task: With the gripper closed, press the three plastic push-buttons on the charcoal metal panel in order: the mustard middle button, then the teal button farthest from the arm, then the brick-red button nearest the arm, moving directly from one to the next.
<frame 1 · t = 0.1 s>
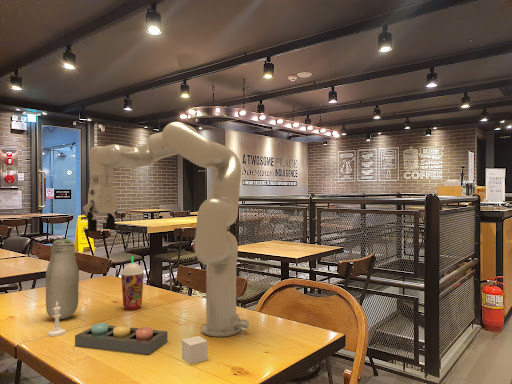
hand: (101, 230, 133), 31 cm above the table, tool pointing down, fingers open, 9 cm apart
teal button: (99, 330, 112), point 3 cm above the table, slide at 0.0 cm
button panel: (121, 343, 110), on the table
brick button: (144, 334, 108), point 3 cm above the table, slide at 0.0 cm
white cube: (194, 360, 99), on the table
grey bottle: (62, 318, 134), on the table
chess piece: (56, 334, 119), on the table
smoothie: (132, 308, 145), on the table
mustard button: (121, 332, 110), point 3 cm above the table, slide at 0.0 cm
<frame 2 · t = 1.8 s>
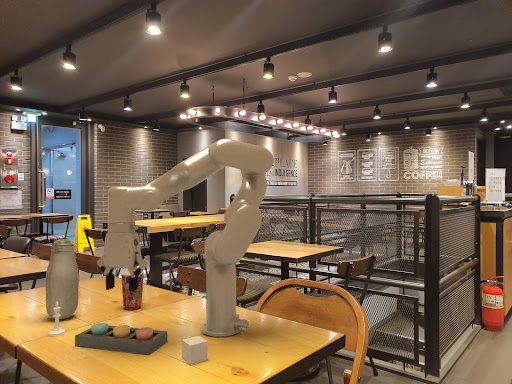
hand: (121, 289, 110), 16 cm above the table, tool pointing down, fingers open, 7 cm apart
nothing on the table moved.
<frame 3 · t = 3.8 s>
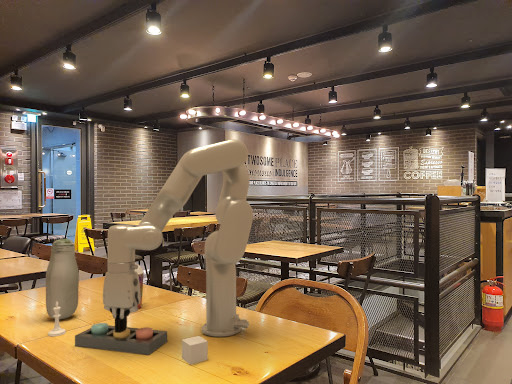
hand: (120, 330, 110), 4 cm above the table, tool pointing down, fingers closed
mustard button: (121, 335, 110), point 2 cm above the table, slide at 0.9 cm, touching gripper
everything else where it was.
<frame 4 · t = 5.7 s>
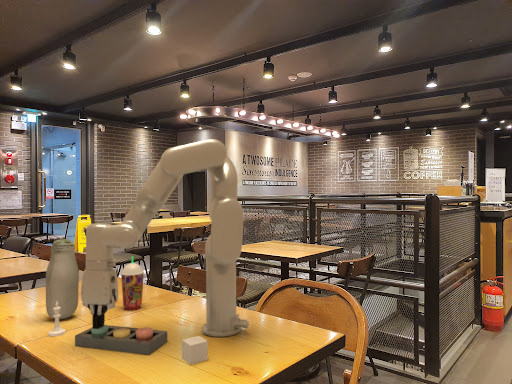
hand: (98, 327, 112), 4 cm above the table, tool pointing down, fingers closed
teal button: (99, 331, 112), point 3 cm above the table, slide at 0.5 cm, touching gripper
mustard button: (121, 335, 110), point 2 cm above the table, slide at 0.9 cm
everything else where it was.
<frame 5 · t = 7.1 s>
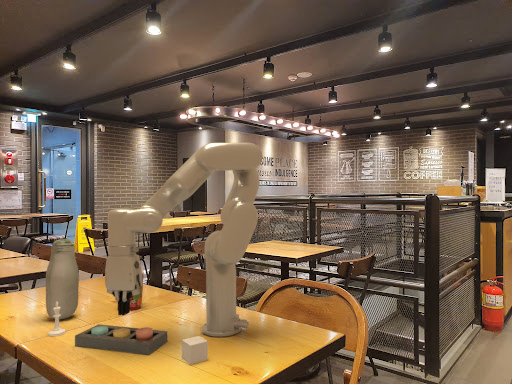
hand: (124, 313, 110), 9 cm above the table, tool pointing down, fingers closed
teal button: (99, 333, 112), point 2 cm above the table, slide at 0.9 cm
everything else where it was.
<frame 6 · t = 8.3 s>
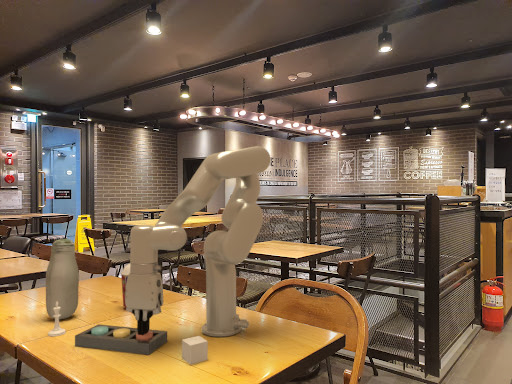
hand: (143, 333, 108), 4 cm above the table, tool pointing down, fingers closed
brick button: (144, 337, 108), point 2 cm above the table, slide at 0.9 cm, touching gripper
everything else where it was.
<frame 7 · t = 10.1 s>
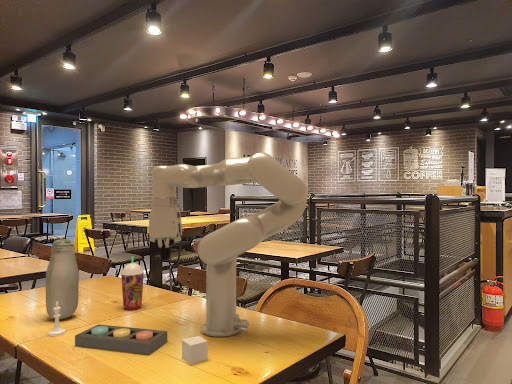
hand: (165, 259, 124), 22 cm above the table, tool pointing down, fingers closed
brick button: (144, 337, 108), point 2 cm above the table, slide at 0.9 cm
everything else where it was.
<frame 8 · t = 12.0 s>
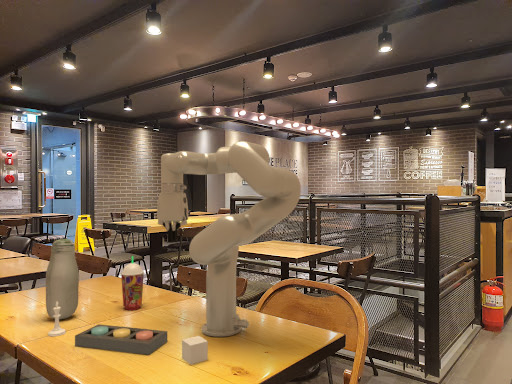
hand: (172, 241, 131), 27 cm above the table, tool pointing down, fingers closed
nothing on the table moved.
at the end: mustard button slide at 0.9 cm; teal button slide at 0.9 cm; brick button slide at 0.9 cm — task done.
